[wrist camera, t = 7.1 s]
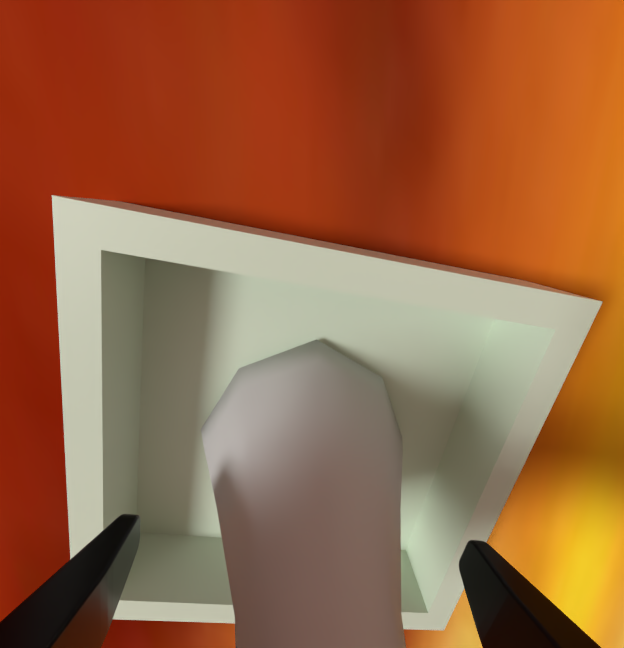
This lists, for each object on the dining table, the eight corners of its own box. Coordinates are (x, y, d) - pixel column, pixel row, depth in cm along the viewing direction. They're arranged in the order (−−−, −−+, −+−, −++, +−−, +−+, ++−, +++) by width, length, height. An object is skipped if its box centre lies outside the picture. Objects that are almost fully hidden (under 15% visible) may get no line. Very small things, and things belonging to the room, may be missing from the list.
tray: (415, 556, 16) (443, 630, 13) (116, 536, 14) (73, 618, 11) (525, 280, 12) (602, 301, 9) (119, 201, 10) (51, 194, 7)
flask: (319, 301, 11) (553, 894, 1) (430, 434, 13) (821, 1029, 3) (167, 422, 12) (-305, 1239, 2) (292, 527, 14) (304, 1180, 5)
